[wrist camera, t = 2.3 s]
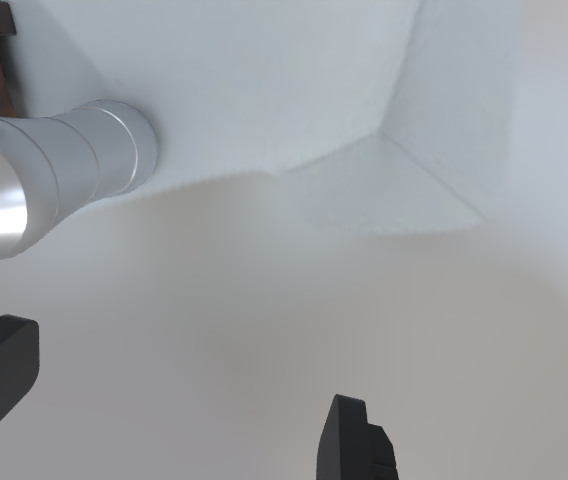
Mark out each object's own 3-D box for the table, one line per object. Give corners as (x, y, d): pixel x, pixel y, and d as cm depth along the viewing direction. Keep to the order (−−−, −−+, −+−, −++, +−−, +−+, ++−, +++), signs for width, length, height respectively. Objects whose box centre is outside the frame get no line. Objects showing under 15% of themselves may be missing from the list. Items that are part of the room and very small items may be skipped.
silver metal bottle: (70, 151, 32) (-274, 251, 14) (110, 78, 30) (-237, 80, 12) (139, 202, 33) (-95, 358, 15) (183, 134, 31) (-28, 220, 13)
